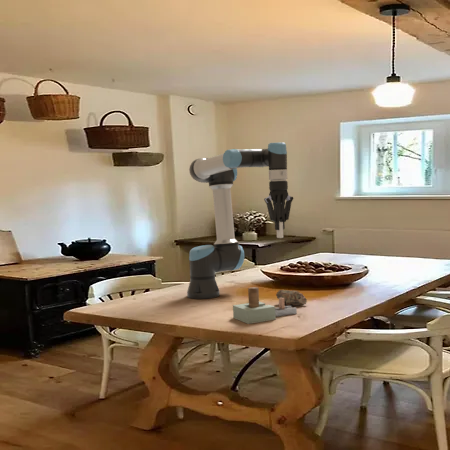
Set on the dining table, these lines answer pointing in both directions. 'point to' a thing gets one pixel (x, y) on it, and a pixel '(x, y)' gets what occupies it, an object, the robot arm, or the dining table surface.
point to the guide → (286, 311)
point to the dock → (254, 313)
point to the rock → (292, 297)
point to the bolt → (281, 304)
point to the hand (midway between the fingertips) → (280, 237)
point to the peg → (253, 297)
